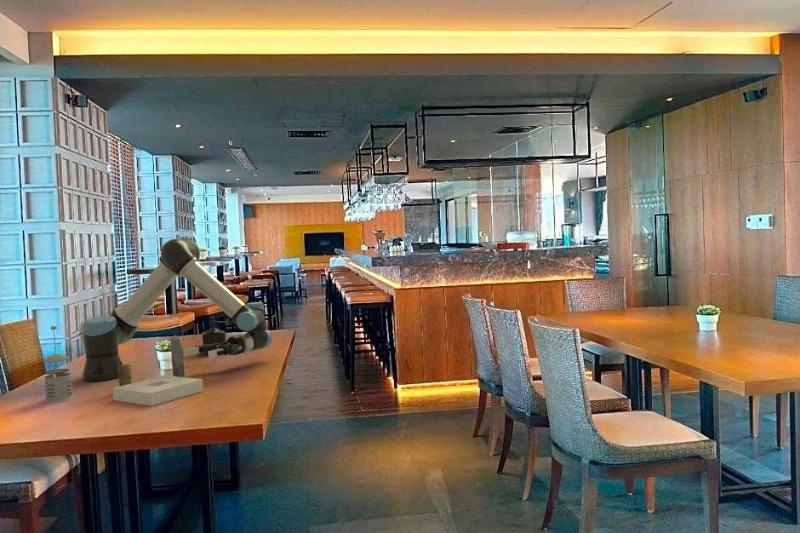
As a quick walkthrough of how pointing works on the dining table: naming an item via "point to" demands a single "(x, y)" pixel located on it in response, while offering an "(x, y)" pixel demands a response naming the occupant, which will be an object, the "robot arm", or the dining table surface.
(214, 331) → the dark block
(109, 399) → the dining table surface
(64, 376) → the french press
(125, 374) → the walnut pin
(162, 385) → the hole plate
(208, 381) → the dining table surface
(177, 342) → the metal pin
